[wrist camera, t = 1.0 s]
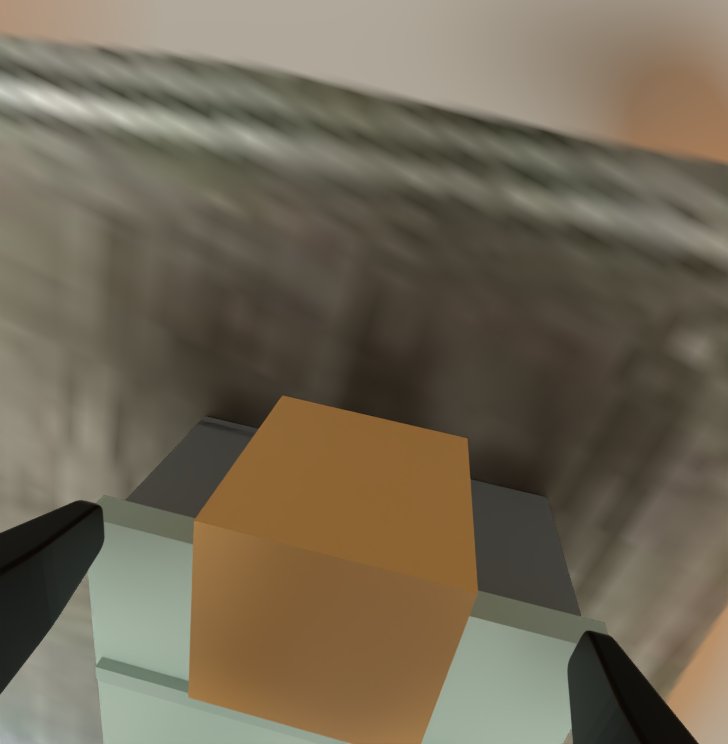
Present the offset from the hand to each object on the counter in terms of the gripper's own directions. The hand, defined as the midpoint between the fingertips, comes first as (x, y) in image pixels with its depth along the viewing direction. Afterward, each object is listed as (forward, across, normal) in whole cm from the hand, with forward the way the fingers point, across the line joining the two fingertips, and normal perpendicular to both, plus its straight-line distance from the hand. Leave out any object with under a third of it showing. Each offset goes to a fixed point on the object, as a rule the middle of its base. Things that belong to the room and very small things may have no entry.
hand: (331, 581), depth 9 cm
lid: (+3, 0, +8) cm, 8 cm away
